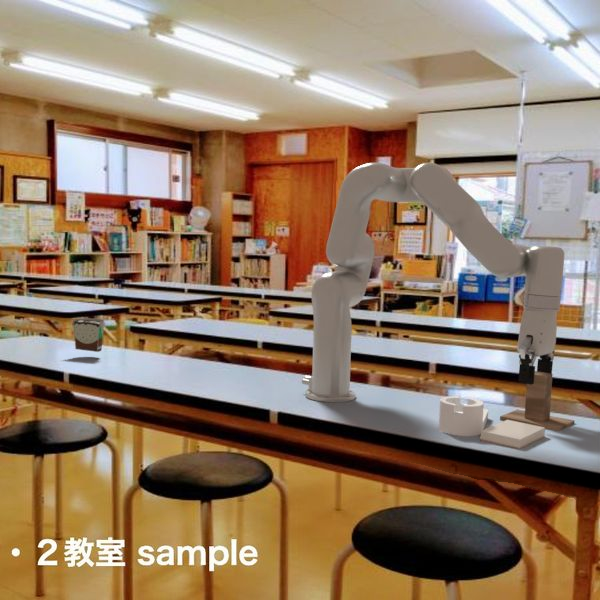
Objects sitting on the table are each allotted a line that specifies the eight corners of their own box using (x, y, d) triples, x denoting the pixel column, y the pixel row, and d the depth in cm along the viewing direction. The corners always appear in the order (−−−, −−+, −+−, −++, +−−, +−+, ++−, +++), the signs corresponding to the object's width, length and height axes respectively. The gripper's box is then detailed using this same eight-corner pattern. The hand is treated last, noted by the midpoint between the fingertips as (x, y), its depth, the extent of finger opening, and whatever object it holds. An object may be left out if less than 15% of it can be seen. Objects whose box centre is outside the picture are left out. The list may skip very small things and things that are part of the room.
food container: (113, 349, 226) (113, 320, 226) (100, 352, 221) (101, 321, 220) (85, 346, 232) (85, 317, 231) (72, 348, 226) (72, 319, 225)
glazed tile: (506, 429, 141) (480, 440, 132) (507, 419, 141) (480, 430, 132) (544, 437, 136) (519, 450, 127) (545, 427, 136) (520, 439, 127)
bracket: (479, 441, 134) (481, 408, 134) (435, 435, 137) (436, 403, 137) (488, 417, 153) (490, 388, 152) (449, 413, 156) (451, 384, 155)
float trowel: (558, 434, 141) (561, 381, 140) (499, 421, 150) (502, 371, 149) (574, 426, 148) (577, 375, 147) (517, 414, 156) (520, 366, 155)
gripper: (540, 299, 156) (534, 372, 157) (508, 303, 143) (501, 382, 144) (573, 303, 151) (566, 378, 152) (543, 307, 138) (535, 389, 139)
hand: (535, 380), depth 148 cm, fingers open, 9 cm apart
